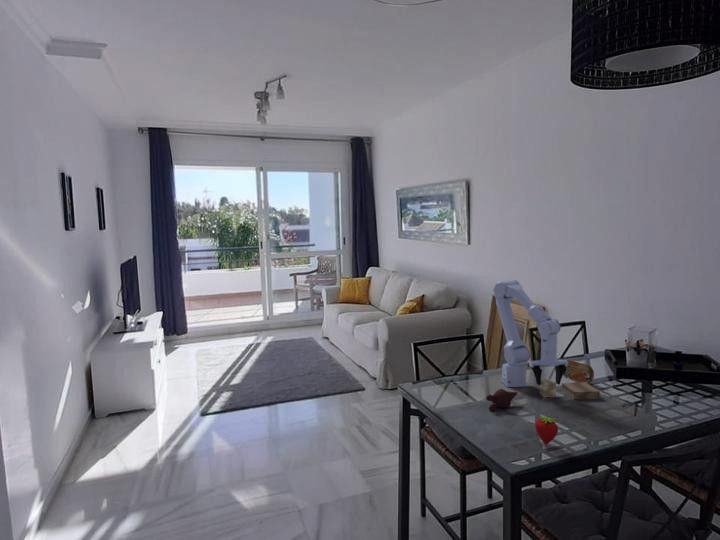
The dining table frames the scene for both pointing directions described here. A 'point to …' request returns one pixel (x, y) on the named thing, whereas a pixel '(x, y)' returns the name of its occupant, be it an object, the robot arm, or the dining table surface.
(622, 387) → the dining table surface
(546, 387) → the birch block
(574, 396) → the plinth
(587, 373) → the tin
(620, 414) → the dining table surface
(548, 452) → the dining table surface
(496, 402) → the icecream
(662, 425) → the dining table surface
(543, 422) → the strawberry
